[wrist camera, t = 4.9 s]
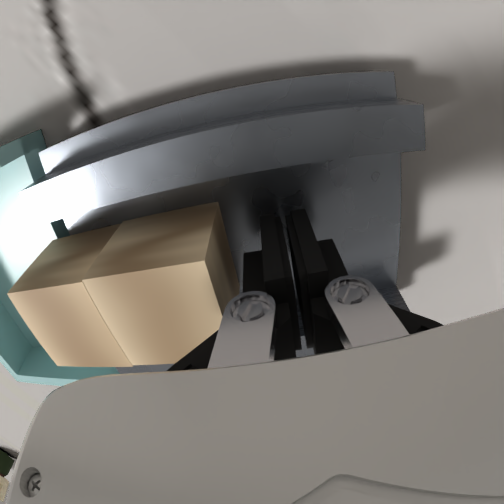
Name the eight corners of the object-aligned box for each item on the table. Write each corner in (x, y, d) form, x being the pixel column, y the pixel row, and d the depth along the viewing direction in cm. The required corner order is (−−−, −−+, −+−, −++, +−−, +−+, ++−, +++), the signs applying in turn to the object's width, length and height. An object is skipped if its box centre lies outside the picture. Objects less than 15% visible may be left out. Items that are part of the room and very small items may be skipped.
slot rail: (373, 70, 11) (420, 73, 7) (379, 298, 17) (403, 350, 13) (61, 141, 12) (10, 168, 9) (145, 333, 18) (128, 385, 15)
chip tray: (41, 129, 12) (-5, 149, 9) (137, 345, 19) (124, 388, 16) (-54, 188, 12) (-88, 212, 10) (34, 348, 20) (17, 381, 17)
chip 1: (123, 222, 12) (82, 281, 9) (155, 299, 14) (133, 366, 11) (52, 239, 12) (6, 293, 9) (87, 307, 14) (57, 365, 11)
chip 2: (218, 201, 12) (204, 260, 8) (239, 286, 14) (237, 358, 10) (123, 221, 12) (81, 280, 9) (154, 298, 14) (132, 365, 11)
